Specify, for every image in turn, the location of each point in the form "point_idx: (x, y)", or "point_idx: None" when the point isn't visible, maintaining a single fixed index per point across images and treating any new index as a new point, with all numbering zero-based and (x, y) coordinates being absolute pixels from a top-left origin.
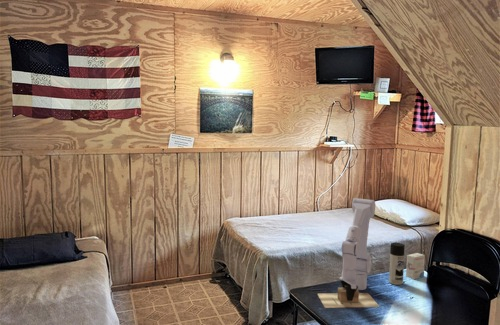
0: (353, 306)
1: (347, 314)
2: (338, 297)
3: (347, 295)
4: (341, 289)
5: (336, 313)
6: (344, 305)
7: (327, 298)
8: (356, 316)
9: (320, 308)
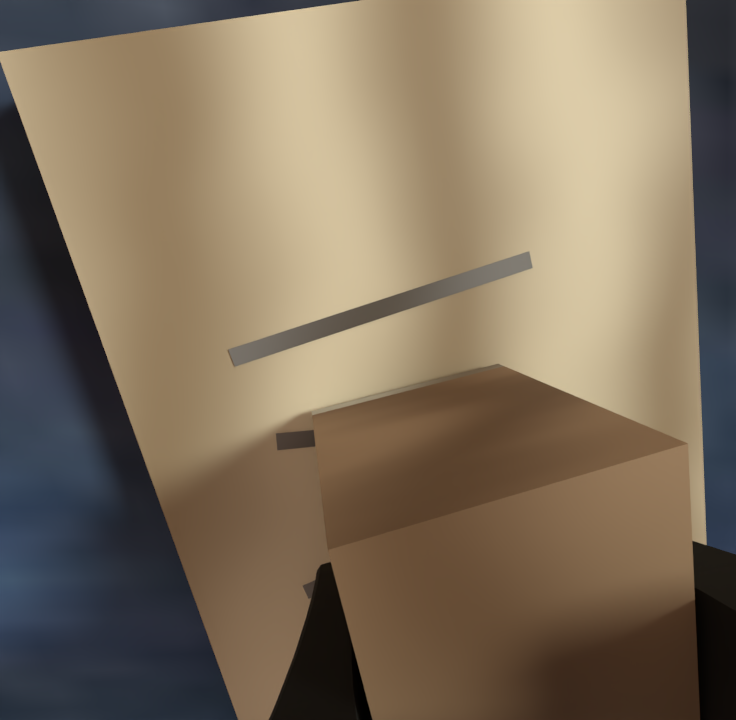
0: (232, 619)
1: (39, 495)
2: (456, 388)
3: (292, 667)
4: (526, 562)
5: (13, 315)
6: (230, 477)
7: (480, 166)
8: (11, 623)
9: (142, 7)
